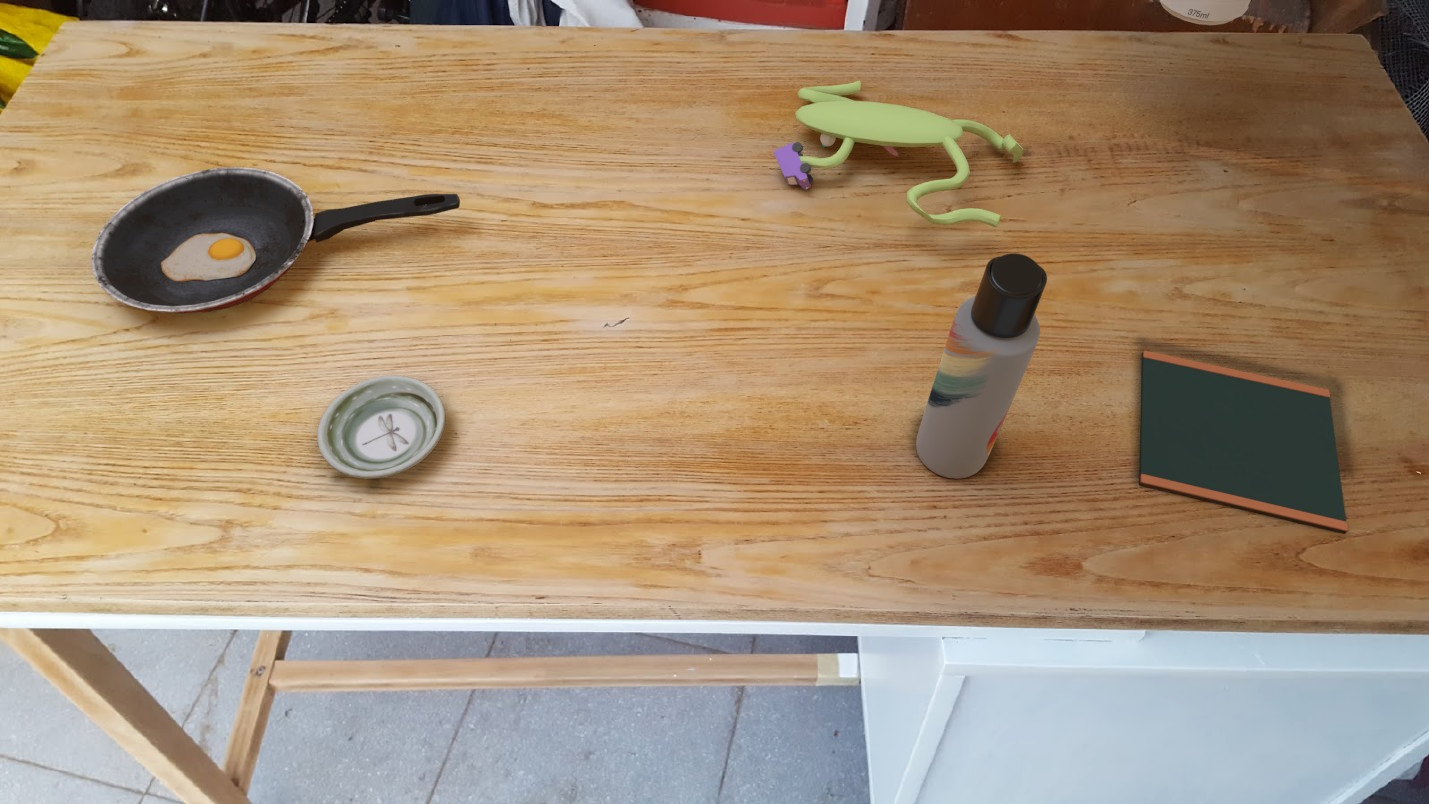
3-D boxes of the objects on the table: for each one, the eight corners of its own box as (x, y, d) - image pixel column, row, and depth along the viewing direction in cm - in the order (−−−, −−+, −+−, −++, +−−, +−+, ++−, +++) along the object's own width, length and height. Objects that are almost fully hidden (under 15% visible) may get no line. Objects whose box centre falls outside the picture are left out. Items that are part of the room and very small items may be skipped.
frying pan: (126, 205, 92) (107, 174, 89) (462, 165, 96) (454, 134, 93) (90, 350, 80) (67, 320, 77) (472, 297, 85) (463, 267, 82)
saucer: (302, 439, 75) (292, 421, 73) (406, 374, 79) (399, 355, 77) (369, 515, 71) (359, 498, 69) (475, 442, 75) (469, 423, 73)
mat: (1326, 393, 79) (1329, 389, 79) (1344, 533, 71) (1348, 530, 71) (1141, 353, 82) (1143, 349, 81) (1138, 485, 73) (1141, 481, 73)
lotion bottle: (990, 430, 76) (1066, 248, 61) (982, 488, 73) (1061, 310, 57) (919, 415, 77) (977, 231, 61) (909, 471, 74) (967, 291, 58)
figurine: (970, 278, 87) (985, 232, 83) (729, 169, 96) (731, 123, 92) (1047, 172, 96) (1064, 126, 92) (822, 82, 105) (827, 36, 101)
